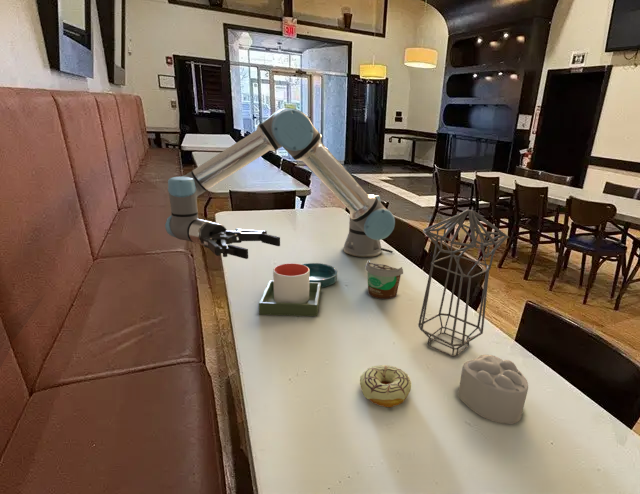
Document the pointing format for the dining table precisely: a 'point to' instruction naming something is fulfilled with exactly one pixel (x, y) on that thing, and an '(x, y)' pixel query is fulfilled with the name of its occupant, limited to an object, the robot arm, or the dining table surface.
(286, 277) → the cup
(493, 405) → the lumpy-topped squat cylinder
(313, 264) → the dish
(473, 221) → the geometric lantern
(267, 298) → the tray
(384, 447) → the dining table surface
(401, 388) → the decorated donut
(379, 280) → the food container
